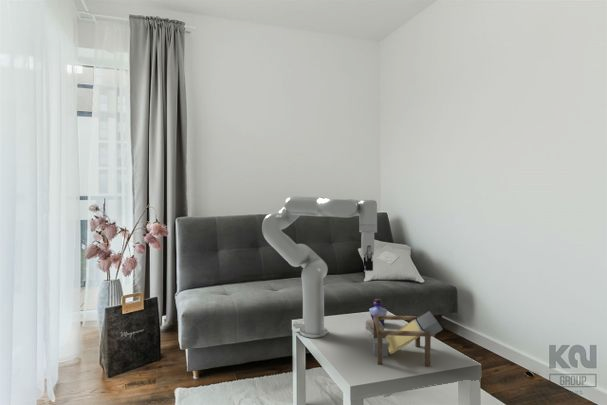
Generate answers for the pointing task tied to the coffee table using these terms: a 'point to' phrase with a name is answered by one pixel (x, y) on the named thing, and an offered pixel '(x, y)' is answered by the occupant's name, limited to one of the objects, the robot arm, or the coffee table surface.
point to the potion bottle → (378, 310)
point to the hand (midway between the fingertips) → (368, 268)
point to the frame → (379, 332)
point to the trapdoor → (426, 323)
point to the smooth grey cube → (384, 346)
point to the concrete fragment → (370, 326)
